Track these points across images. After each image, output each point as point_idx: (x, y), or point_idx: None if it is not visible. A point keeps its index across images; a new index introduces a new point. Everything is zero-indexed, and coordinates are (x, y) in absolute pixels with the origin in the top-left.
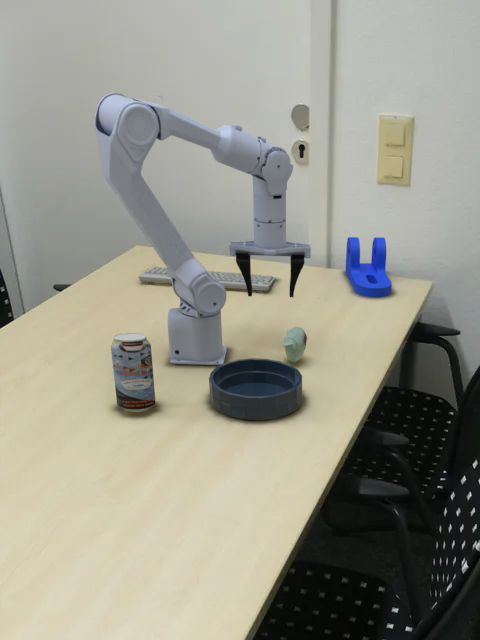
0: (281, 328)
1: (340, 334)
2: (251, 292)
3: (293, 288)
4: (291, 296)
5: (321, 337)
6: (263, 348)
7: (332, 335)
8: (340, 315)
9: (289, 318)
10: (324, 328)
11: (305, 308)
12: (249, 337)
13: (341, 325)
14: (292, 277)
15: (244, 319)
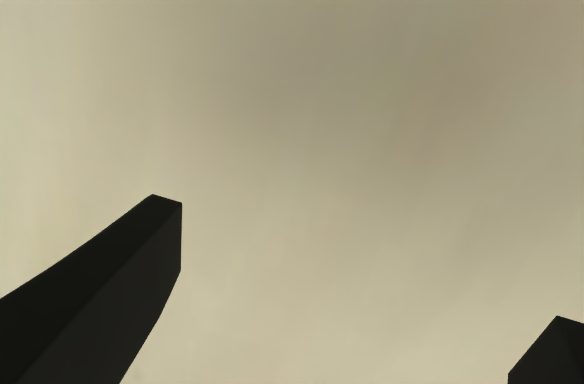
0: (302, 219)
1: (39, 95)
2: (572, 347)
3: (93, 244)
4: (160, 200)
5: (124, 82)
6: (475, 4)
7: (74, 93)
8: (59, 257)
9: (251, 288)
10: (113, 171)
11: (183, 335)
12: (497, 169)
13: (45, 180)
14: (15, 352)
15: (441, 332)
